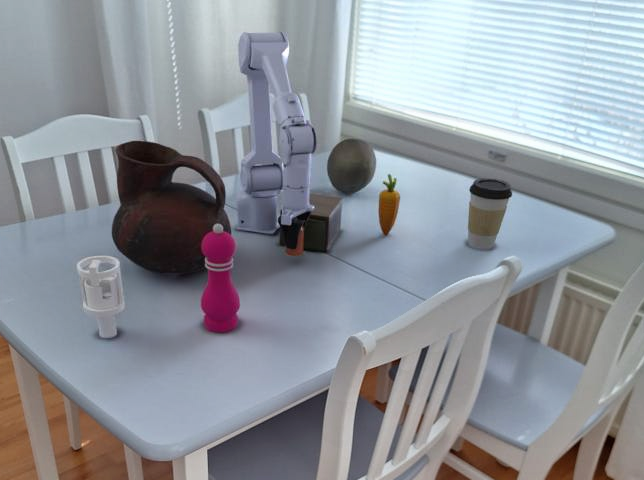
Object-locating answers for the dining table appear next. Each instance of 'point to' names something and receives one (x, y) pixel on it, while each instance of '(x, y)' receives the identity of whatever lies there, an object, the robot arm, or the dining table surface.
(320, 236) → the drawer
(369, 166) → the cantaloupe
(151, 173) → the jug
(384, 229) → the carrot
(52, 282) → the dining table surface
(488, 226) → the coffee cup
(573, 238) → the dining table surface
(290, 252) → the orange jar
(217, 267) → the pepper mill
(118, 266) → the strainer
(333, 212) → the cabinet
